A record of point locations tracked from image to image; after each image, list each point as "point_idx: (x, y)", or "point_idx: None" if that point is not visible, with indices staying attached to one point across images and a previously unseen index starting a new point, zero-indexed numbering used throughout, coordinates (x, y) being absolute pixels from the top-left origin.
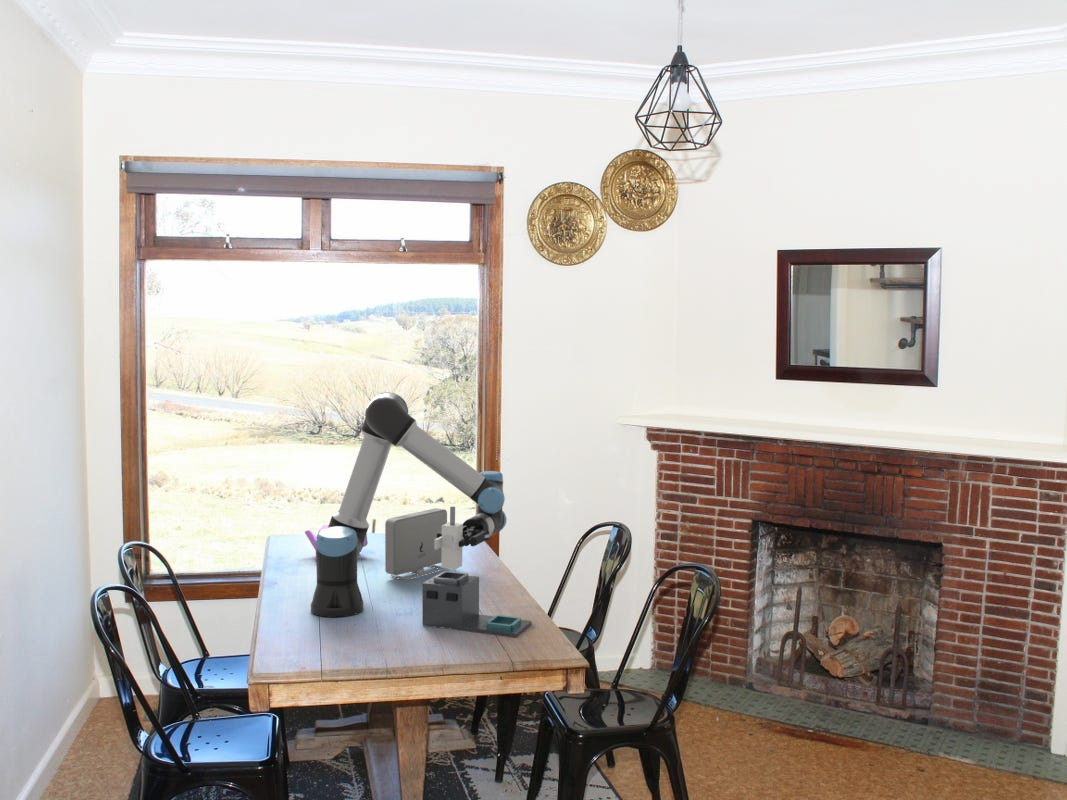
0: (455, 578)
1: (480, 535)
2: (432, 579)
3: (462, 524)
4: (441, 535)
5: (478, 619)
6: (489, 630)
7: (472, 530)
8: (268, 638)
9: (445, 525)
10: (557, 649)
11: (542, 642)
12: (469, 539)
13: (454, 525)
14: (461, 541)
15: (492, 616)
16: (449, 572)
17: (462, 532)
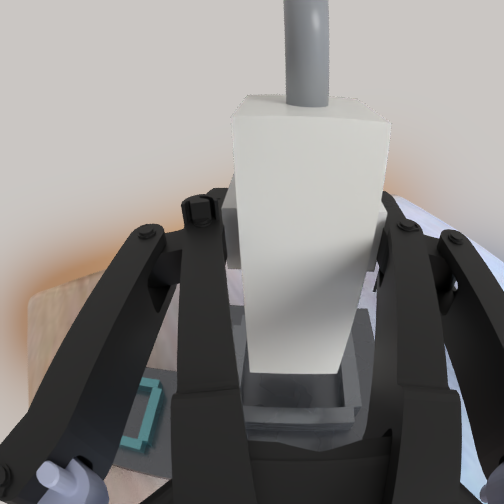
0: (282, 398)
1: (80, 322)
2: (364, 354)
3: (231, 119)
4: (433, 250)
5: None
6: (153, 368)
7: (174, 403)
8: (483, 253)
9: (335, 98)
10: (40, 319)
11: (55, 344)
12: (175, 231)
13: (278, 100)
14: (219, 192)
15: (162, 473)
16: (326, 408)
17: (236, 194)
